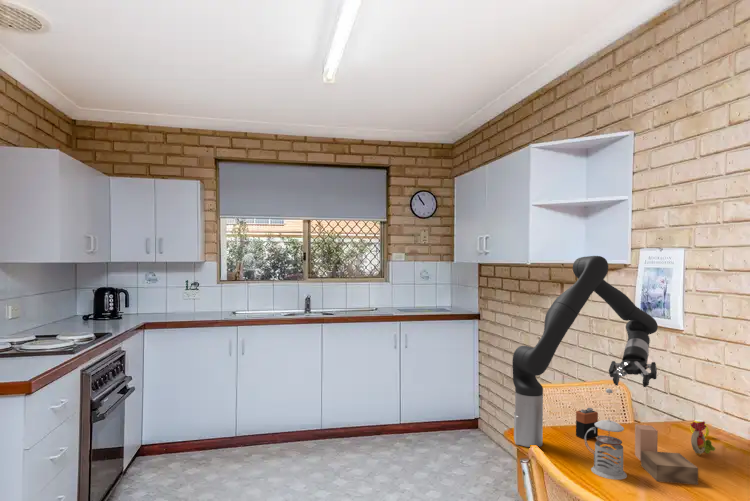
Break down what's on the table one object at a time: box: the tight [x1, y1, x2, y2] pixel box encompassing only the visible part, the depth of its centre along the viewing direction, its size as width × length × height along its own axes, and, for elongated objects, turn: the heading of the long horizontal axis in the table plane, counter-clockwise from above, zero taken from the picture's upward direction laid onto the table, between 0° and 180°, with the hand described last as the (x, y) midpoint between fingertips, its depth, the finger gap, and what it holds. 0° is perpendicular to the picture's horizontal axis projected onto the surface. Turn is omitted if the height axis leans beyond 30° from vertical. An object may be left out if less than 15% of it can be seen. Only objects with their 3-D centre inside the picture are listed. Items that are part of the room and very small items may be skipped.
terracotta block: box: [634, 423, 659, 462], centre depth 155 cm, size 5×5×10 cm
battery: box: [575, 407, 599, 440], centre depth 174 cm, size 4×7×10 cm, turn 115°
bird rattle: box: [690, 420, 716, 456], centre depth 160 cm, size 6×11×9 cm
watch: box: [689, 419, 710, 438], centre depth 177 cm, size 6×3×6 cm, turn 25°
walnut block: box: [640, 451, 699, 486], centre depth 143 cm, size 11×11×5 cm
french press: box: [584, 388, 628, 481], centre depth 144 cm, size 10×12×25 cm
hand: (629, 384), depth 158 cm, fingers open, 8 cm apart
